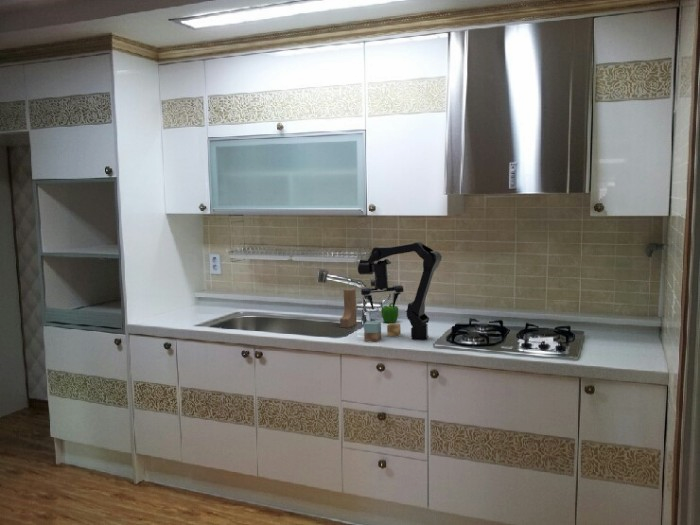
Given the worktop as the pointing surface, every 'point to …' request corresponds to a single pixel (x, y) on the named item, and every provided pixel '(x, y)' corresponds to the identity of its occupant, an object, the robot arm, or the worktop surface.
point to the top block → (372, 327)
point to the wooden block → (349, 309)
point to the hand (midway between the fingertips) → (383, 308)
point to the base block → (372, 337)
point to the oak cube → (393, 329)
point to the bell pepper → (390, 313)
